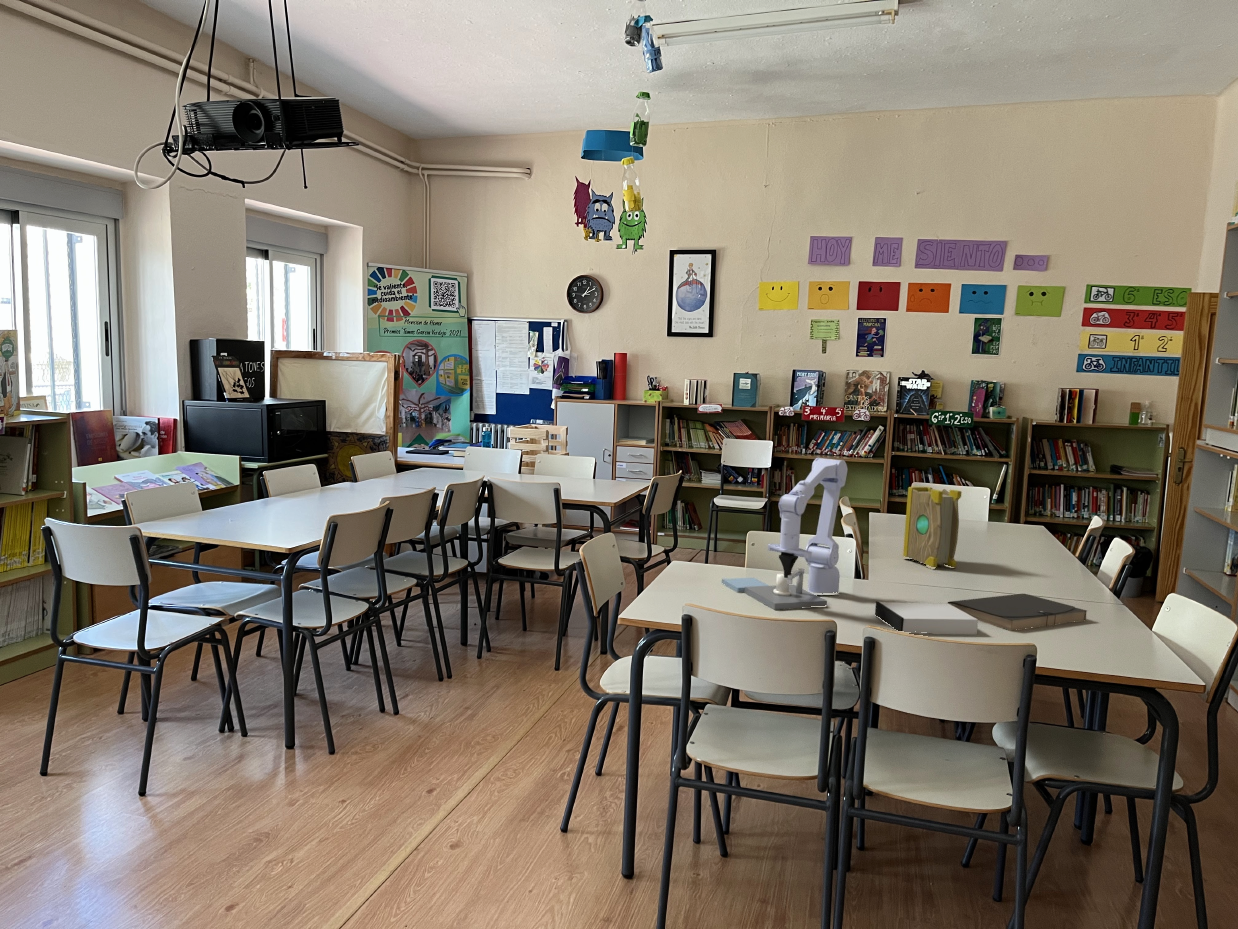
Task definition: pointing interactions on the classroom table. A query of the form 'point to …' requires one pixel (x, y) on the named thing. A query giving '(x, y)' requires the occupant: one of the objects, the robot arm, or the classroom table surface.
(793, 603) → the grey socket base
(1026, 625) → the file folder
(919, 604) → the disc drive
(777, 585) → the plug
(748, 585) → the mat
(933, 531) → the decorative book
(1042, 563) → the classroom table surface
